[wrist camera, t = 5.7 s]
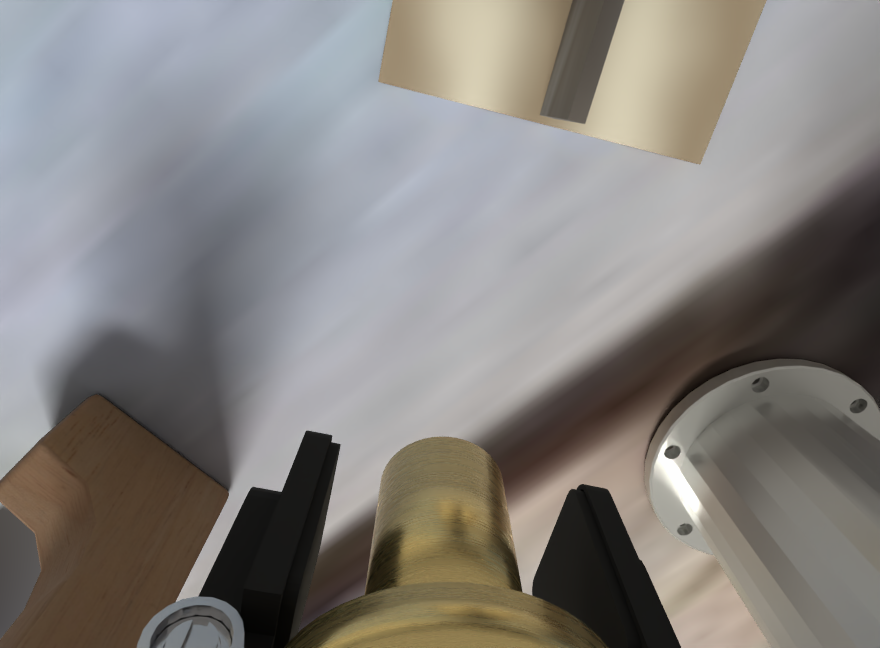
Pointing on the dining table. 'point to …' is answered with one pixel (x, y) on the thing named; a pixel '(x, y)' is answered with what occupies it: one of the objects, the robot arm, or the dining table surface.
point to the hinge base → (579, 63)
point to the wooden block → (106, 528)
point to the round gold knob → (444, 565)
